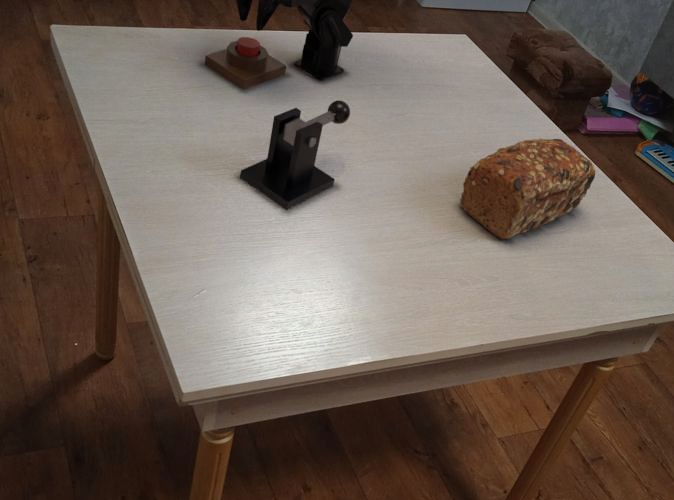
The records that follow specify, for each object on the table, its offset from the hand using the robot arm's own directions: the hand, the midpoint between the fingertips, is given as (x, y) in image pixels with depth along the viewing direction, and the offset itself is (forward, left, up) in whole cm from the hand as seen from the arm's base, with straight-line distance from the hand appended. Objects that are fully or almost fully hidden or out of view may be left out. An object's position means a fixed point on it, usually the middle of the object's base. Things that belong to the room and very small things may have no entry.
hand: (251, 25), depth 132 cm
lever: (+13, +26, -1) cm, 29 cm away
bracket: (+18, +26, -8) cm, 33 cm away
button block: (0, 0, -8) cm, 8 cm away
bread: (-7, +51, -8) cm, 52 cm away
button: (0, 0, -5) cm, 5 cm away
